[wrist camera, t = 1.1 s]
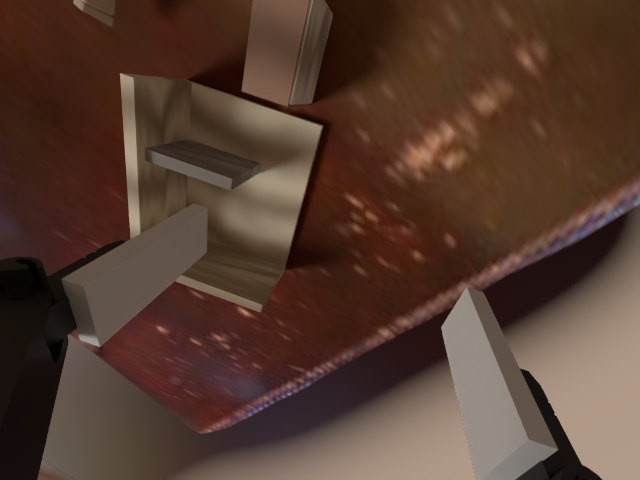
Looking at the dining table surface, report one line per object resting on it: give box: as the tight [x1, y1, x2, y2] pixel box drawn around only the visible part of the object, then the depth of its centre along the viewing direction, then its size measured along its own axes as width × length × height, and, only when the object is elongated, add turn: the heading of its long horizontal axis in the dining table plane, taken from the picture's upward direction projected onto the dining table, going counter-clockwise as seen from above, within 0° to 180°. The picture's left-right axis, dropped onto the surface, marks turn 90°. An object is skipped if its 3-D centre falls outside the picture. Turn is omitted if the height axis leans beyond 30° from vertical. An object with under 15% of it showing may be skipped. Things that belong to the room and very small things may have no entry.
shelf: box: [120, 73, 324, 313], centre depth 31 cm, size 20×16×9 cm
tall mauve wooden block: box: [242, 0, 333, 107], centre depth 24 cm, size 8×4×8 cm, turn 164°
